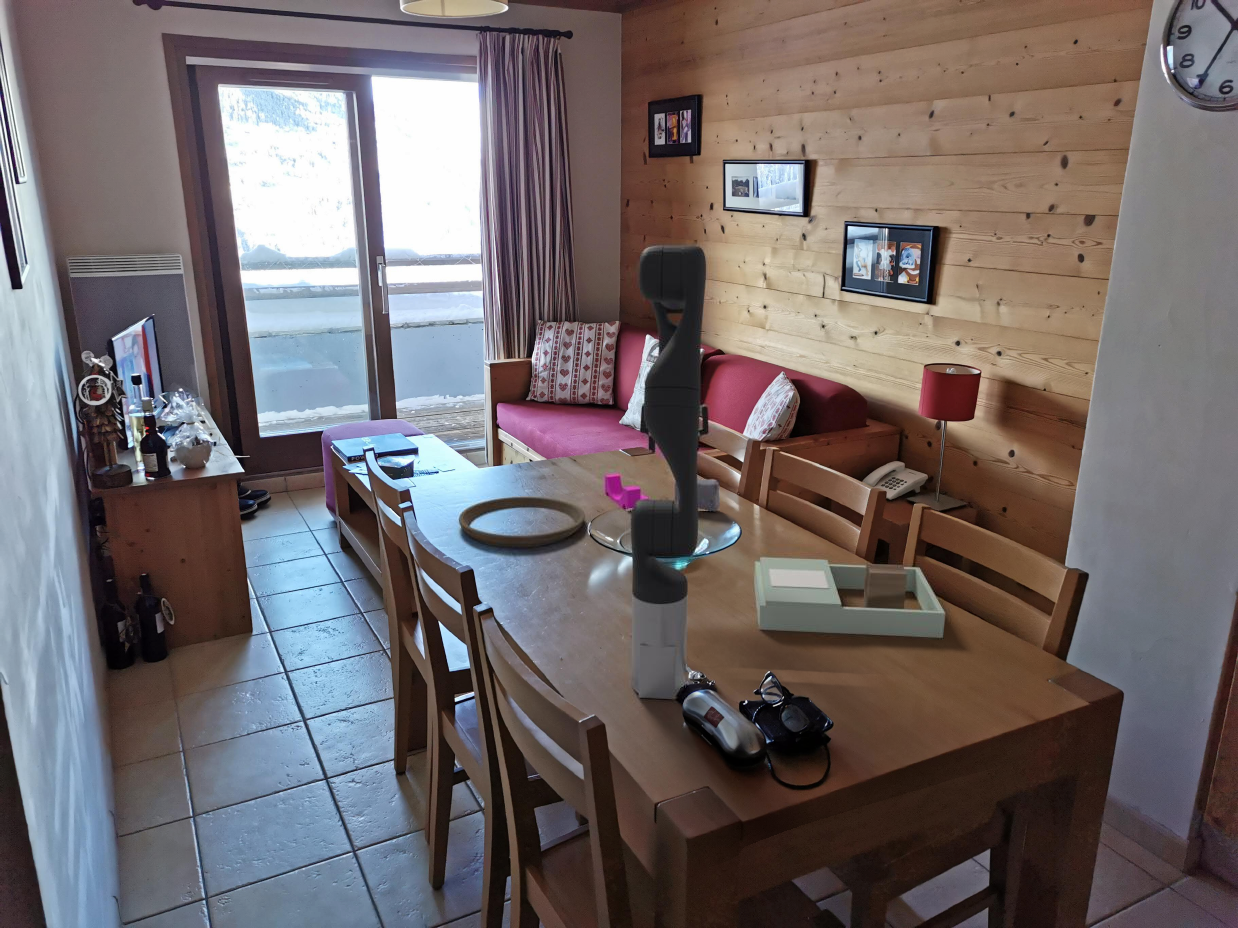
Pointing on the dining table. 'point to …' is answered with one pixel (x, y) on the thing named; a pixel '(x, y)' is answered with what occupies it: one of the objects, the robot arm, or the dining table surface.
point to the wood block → (884, 586)
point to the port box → (836, 600)
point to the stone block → (705, 494)
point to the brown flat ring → (524, 540)
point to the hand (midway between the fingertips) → (673, 452)
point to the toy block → (622, 492)
